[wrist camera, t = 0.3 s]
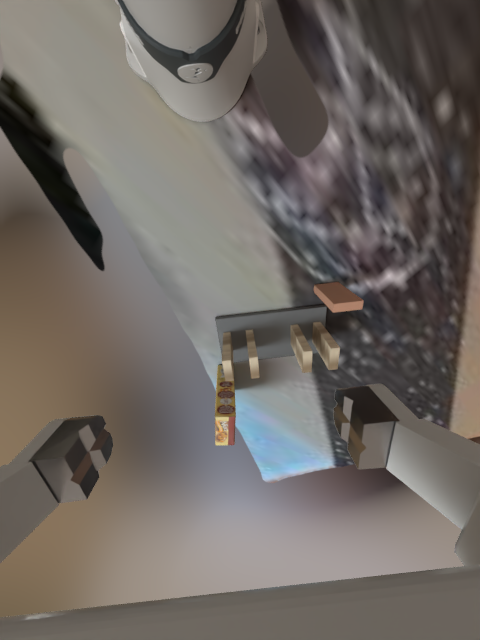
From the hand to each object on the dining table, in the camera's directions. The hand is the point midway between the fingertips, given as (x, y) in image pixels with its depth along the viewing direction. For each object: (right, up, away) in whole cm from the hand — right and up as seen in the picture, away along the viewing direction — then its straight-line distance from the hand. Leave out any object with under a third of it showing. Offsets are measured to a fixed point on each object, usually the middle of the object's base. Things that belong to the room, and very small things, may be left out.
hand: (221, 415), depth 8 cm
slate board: (+8, 0, +44) cm, 45 cm away
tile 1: (-2, -2, +43) cm, 43 cm away
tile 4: (+13, 0, +43) cm, 45 cm away
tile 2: (+3, -1, +43) cm, 43 cm away
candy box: (-3, -11, +50) cm, 51 cm away
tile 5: (+18, +1, +43) cm, 46 cm away
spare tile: (+19, +10, +39) cm, 45 cm away
